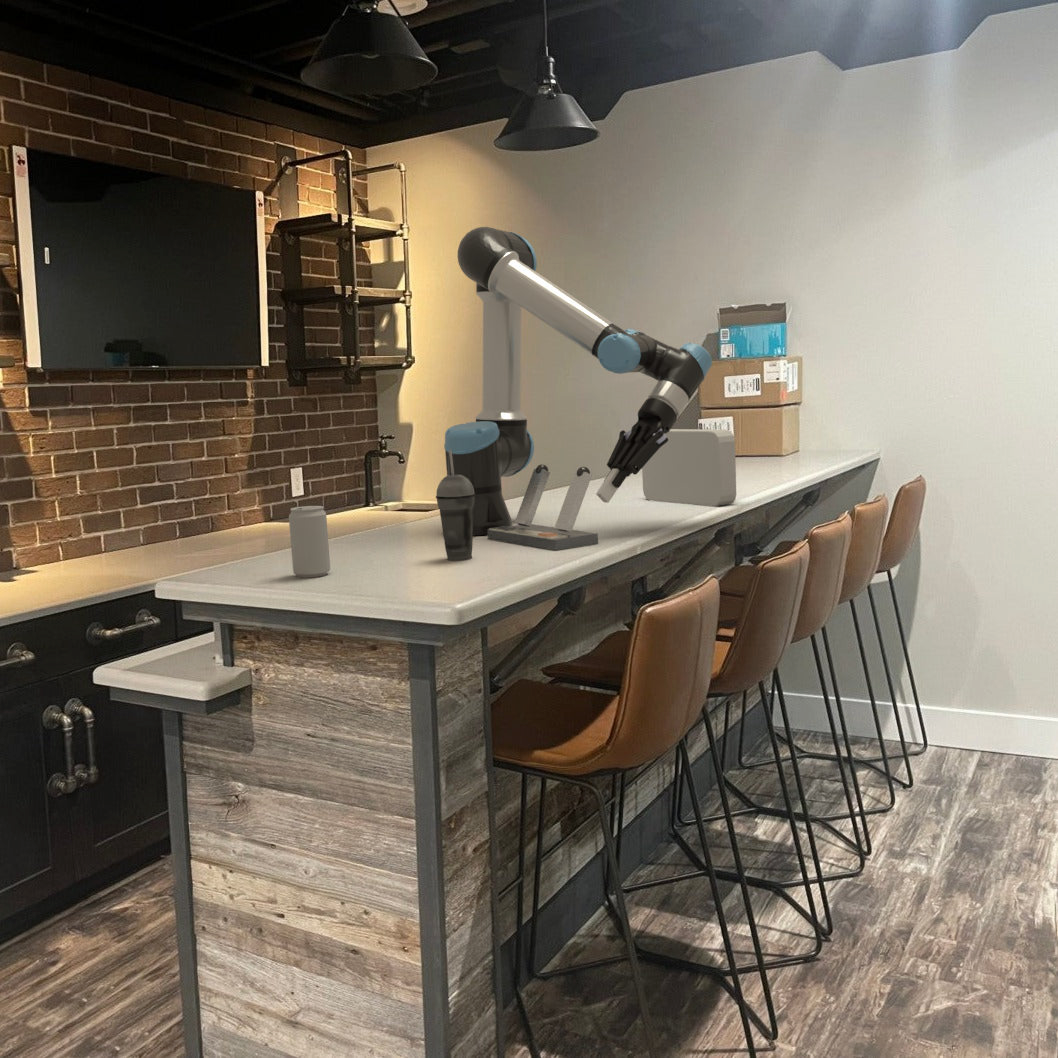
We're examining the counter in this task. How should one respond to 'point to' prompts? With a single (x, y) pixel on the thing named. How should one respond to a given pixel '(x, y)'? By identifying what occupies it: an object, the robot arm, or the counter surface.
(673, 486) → the gray rounded block
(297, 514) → the beverage can
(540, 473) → the inner lever
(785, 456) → the counter surface
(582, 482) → the outer lever
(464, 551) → the beverage cup
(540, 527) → the switch base
